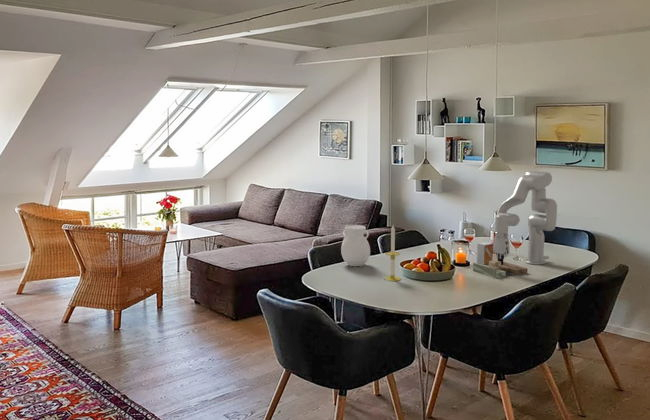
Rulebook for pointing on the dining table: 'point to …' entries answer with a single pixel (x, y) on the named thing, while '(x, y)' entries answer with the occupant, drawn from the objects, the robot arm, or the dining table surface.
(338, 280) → the dining table surface
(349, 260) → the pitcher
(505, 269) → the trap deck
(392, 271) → the candle
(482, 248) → the small box
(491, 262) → the maple cube
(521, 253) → the dining table surface
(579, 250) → the dining table surface
